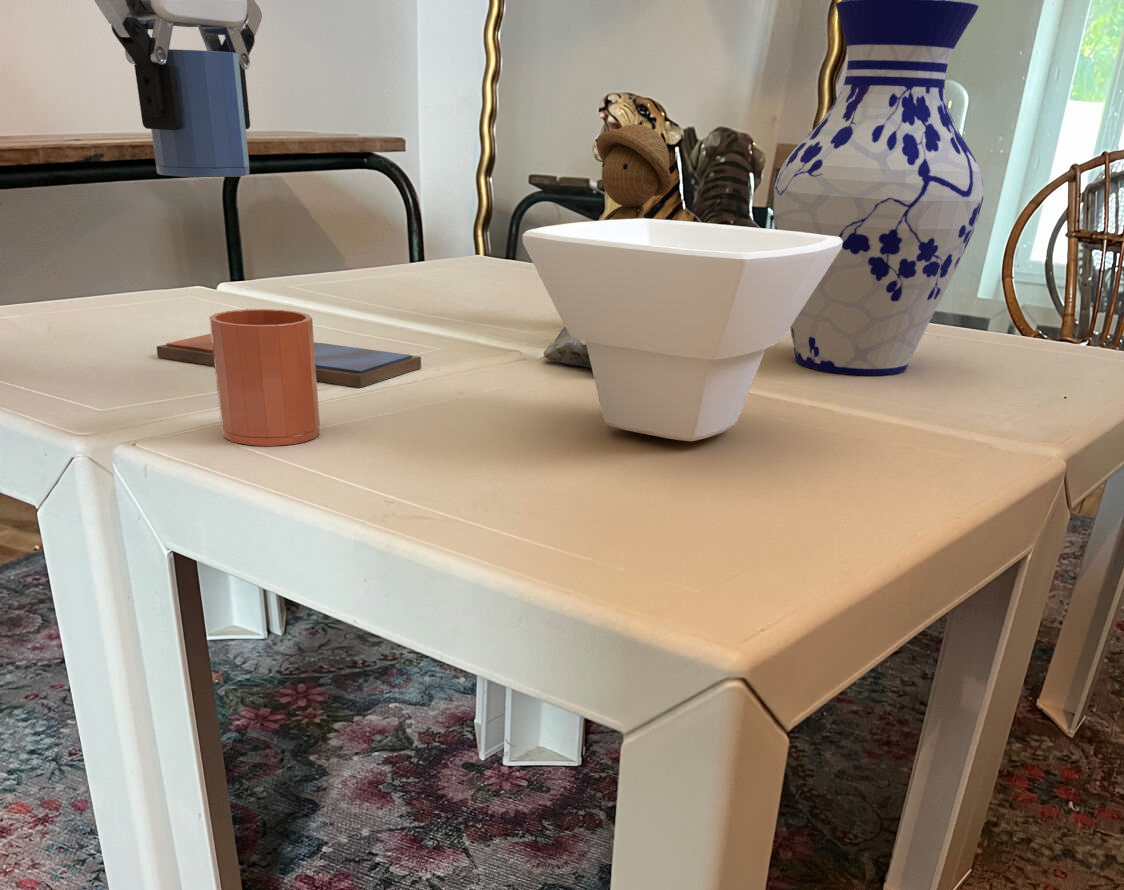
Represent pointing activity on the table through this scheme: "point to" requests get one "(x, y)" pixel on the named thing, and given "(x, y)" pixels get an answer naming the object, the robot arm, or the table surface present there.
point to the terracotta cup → (265, 376)
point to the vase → (883, 189)
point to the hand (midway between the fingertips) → (198, 126)
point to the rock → (568, 350)
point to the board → (329, 361)
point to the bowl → (677, 311)
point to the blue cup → (205, 118)
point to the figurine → (633, 168)
